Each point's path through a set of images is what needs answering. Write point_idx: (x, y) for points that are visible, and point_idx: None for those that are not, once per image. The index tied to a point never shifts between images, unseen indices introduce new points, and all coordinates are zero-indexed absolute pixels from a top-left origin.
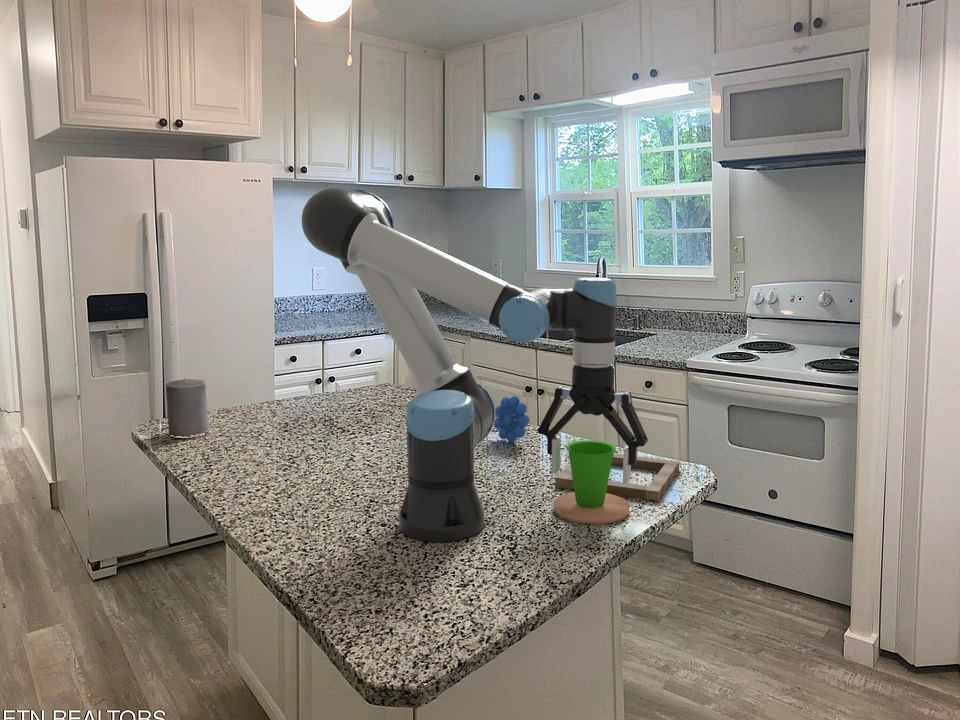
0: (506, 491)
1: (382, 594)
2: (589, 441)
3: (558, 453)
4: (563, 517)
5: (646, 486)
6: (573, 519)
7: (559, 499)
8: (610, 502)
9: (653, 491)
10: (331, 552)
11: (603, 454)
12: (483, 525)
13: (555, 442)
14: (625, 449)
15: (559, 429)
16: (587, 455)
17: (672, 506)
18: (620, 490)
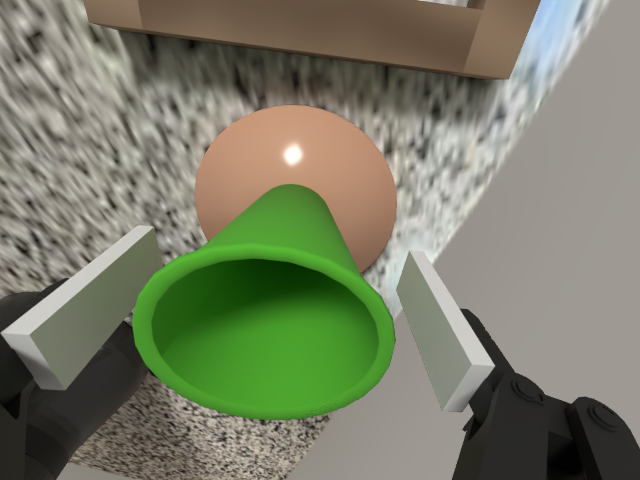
0: (16, 135)
1: (164, 458)
2: (214, 258)
3: (113, 290)
4: None
5: (472, 20)
6: None
7: (207, 209)
8: (344, 191)
9: (489, 76)
10: None
11: (344, 405)
12: None
13: (74, 377)
14: (448, 408)
15: (23, 468)
16: (282, 414)
17: (524, 111)
18: (366, 61)
